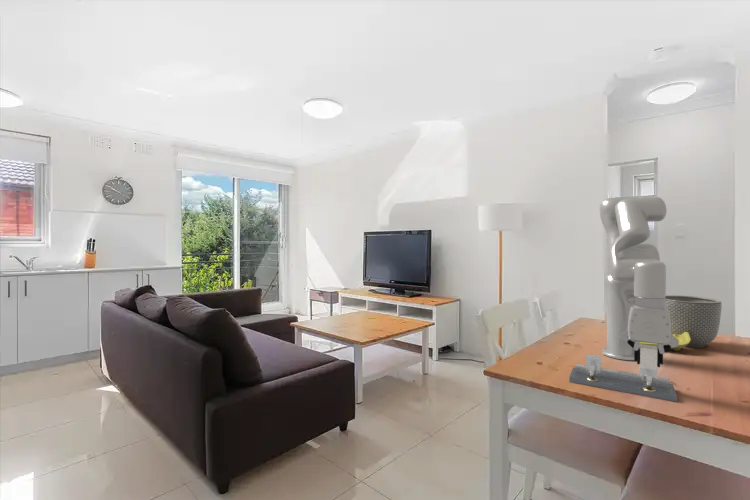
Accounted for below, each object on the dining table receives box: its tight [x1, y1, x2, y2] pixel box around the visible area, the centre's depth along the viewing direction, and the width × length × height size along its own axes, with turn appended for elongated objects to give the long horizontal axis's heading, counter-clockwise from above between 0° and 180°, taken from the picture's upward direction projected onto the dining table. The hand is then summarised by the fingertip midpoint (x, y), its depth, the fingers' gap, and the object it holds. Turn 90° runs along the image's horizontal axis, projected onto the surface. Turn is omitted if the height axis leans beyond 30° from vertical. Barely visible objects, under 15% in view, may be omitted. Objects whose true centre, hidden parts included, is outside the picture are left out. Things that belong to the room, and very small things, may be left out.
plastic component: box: [640, 332, 691, 352], centre depth 149 cm, size 20×7×10 cm
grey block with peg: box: [639, 344, 658, 388], centre depth 108 cm, size 4×8×10 cm, turn 146°
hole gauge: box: [568, 353, 678, 403], centre depth 112 cm, size 26×10×7 cm, turn 56°
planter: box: [665, 294, 723, 349], centre depth 153 cm, size 20×20×19 cm
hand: (648, 363), depth 109 cm, fingers closed on grey block with peg, 4 cm apart
